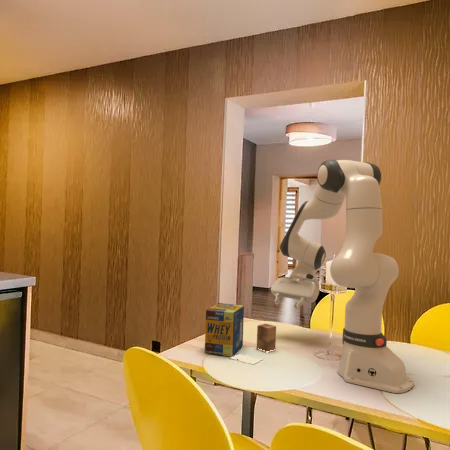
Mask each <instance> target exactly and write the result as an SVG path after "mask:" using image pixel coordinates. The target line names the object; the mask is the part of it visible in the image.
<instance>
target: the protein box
mask: <svg viewBox="0 0 450 450" xmlns="http://www.w3.org/2000/svg"><path fill="white" fill-rule="evenodd" d="M244 309H245V305H241V304H233V303H223V302H218V303H217V304H214V305H213V306H211V307H209V308H208V309H206V310H205V326H204V327H205V329H204V330H205V332H204V337H205V338H204V354H208V355H215V356H216V355H219V356H225V357H232V356H234V355H236V354H237V352H238V351H239V350H240V349H241V348H242V347H243V346H244V343H243V342H244V320H245V318H244V313H245V310H244Z"/></svg>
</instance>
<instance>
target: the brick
mask: <svg viewBox="0 0 450 450" xmlns="http://www.w3.org/2000/svg"><path fill="white" fill-rule="evenodd" d="M256 333H257V334H256V349H257V348H259V349H262V350H265V351H270V350H274V349H275V350H276V342H277V341H276V339H277V325H274V324H269V323H263V324H262V323H261V324H258V325H257V329H256ZM275 350H274V351H275Z"/></svg>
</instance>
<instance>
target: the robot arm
mask: <svg viewBox="0 0 450 450" xmlns="http://www.w3.org/2000/svg"><path fill="white" fill-rule="evenodd" d="M316 172H317V174H316V178H317V185H316V187H315V190H314V193H313V196H312V197H311V199H310V200H306V201H304V202H303V203H302V204H301V205H300V207H299V208H298V210H297V212H296V214H295V216H294V218H293V220H292V221H291V224H290V226H289V228H288V229H287V231H286V233H285V235H284V236H283V237H282V239H281V241H280V243H279V244H280V245H279V249H280V252H281V254H282V256H285V257H287V258H291V259H294V260H295V261H297V265H296V266H295V267H294V268H293V270H292V271H291V273H290V275H289V277H287V276H280V277H279V278H277V279H276V280H275V281H274V283H273V284H272V285H271V287H270V292H271V294H272V295H273V296H274V297H275V300H274V301H273V302H274V305H277V306H278V305H280V304H281V300H280V299H281V298H286V299H292V300H297V301H298V302H295V304H294V306H293V307H294V308H295V309H298V310H299V309H300V308H301V306H302V305H304V304H306V302H308V303H314V302H316V300H317V299H318V296H319V295H320V289H319V283H320V281H319V279H318V277H317V276H316V275H315V274H316V273H317V272H318V270H319V269H320V268H321V267H322V265H323V263H324V262H325V259H326V257H327V252H326V250H325V247H324V246H323V245H322V244H320V243H319V242H315V241H314V240H313V241H312V240H310V239H308V238H305V237H303V236H302V235H299V233H300V230H301V228H302V226H303V224H304V222H305V221H307V220H329V219H331V218H334V217H335V216H337V215H338V214H339V212H340V210H341V208H342V206H343V203H344V200H345V236H344V240H343V244H342V246H341V249H340V251H339V253H338V254H337V256H335V257H334V258H333V260H332V261H331V264H330V268H329V269H330V271H329V272H330V276H331V278H332V280H333V282H334V283H335V284H336V285H338V286H340V287H344V288H347V289H348V288H349V289H355V290H354V293H353V295H352V297H351V298H350V299H349V300H347V302H346V304H345V311H344V313H345V314H344V327H343V329H342V339H341V340H342V351H341V358H340V362H339V365H338V368H337V374H338V375H339V376H340V377H342V378H343V380H344V381H345V382H347V383H350V384H355V385H359V386H362V387H363V386H364V387H368V388H372V389H374V390H375V389H376V390H380V391H384V392H389V393H393V394H402V393H406V392H409V391H411V388H412V387H413V388H414V386H415V383H414V380H413V379H412V378H411V377H408V376H407V371H406V370H407V369H406V365H405V363H404V360H402V359H401V358H400V357H399V356H398V355H397V354H395V352H393V350H392V349H390V348H389V347H388V346H387V344H388V340H389V335H386V336H385V335H384V334H383V333H382V317H383V309H384V304H385V300H386V299H387V298H386V297H387V295H388V292H389V289H390V288H391V286H392V284H393V283H394V282H395V281H396V280H397V279H398V277H399V274H400V273H399V272H400V271H399V270H400V267H399V265H398V262H397V260H396V259H394V257H393V256H390V255H387V254H384V253H380V252H374V248H375V244H376V242H377V240H378V239H379V238H380V237H382V234H383V203H382V193H381V189H380V184H381V181H382V172H381V170H380V167H379V166H378V165H377V164H374V163H371V162H369V161H368V162H367V161H366V162H363V161H357V160H353V159H338V160H337V159H328V160H324V161H323V162H322V163H321V164H320V165H319V166H318V169H317V171H316ZM413 385H414V386H413ZM413 388H412V389H413ZM408 390H409V391H408Z"/></svg>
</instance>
